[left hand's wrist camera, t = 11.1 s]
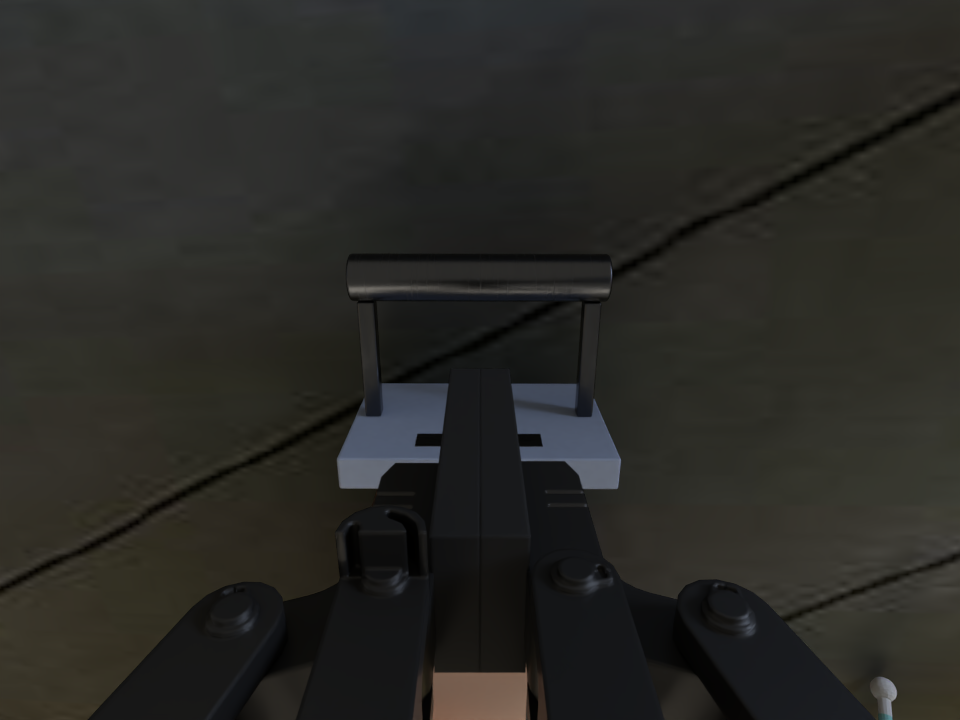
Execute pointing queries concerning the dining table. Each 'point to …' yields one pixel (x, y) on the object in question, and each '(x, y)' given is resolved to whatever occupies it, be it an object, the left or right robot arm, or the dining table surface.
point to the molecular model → (883, 696)
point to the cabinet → (479, 696)
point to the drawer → (421, 407)
